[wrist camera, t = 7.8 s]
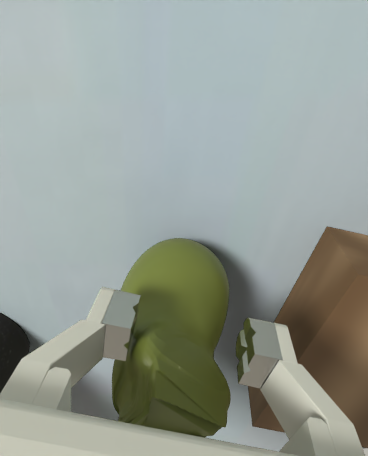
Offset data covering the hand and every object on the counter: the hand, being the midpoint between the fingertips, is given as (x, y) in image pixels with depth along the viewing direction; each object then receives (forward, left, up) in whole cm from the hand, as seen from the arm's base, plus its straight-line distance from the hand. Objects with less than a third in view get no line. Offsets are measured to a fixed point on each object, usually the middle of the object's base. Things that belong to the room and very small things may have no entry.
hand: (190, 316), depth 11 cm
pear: (0, +2, -7) cm, 7 cm away
